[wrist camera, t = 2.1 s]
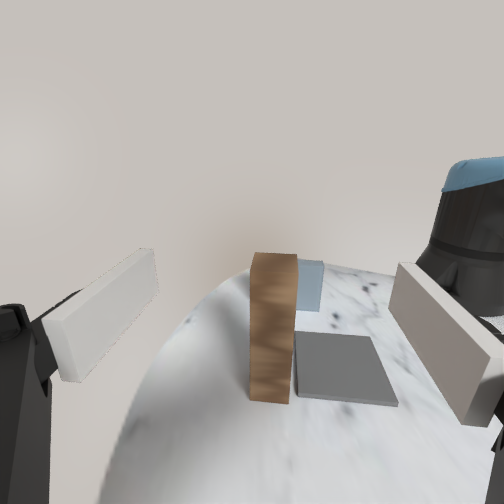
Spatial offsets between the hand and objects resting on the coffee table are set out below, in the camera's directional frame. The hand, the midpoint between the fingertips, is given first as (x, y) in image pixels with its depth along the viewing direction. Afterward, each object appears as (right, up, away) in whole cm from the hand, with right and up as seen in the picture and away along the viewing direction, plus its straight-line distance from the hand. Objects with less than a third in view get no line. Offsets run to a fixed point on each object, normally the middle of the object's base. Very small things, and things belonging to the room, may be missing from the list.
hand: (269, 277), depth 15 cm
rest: (+9, -12, +18) cm, 24 cm away
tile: (+5, -8, +29) cm, 31 cm away
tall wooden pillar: (+1, -13, +15) cm, 20 cm away
